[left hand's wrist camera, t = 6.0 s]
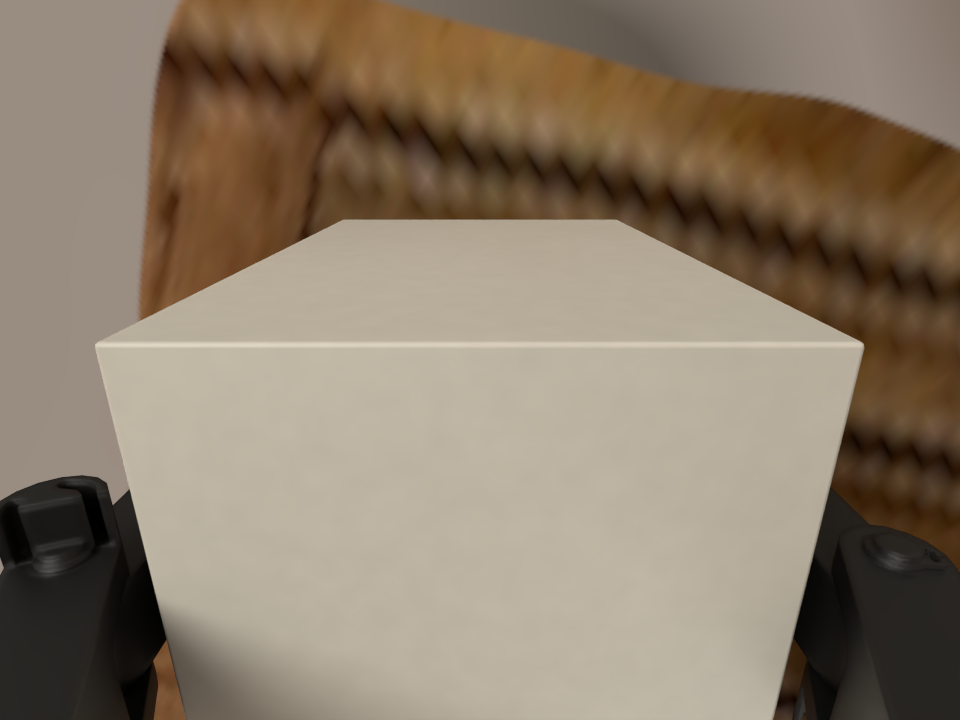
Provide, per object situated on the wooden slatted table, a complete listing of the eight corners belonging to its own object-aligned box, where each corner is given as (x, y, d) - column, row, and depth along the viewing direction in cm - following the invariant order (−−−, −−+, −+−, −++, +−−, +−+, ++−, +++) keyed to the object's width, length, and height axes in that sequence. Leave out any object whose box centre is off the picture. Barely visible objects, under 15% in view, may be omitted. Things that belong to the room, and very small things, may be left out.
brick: (617, 219, 16) (869, 342, 6) (596, 477, 18) (738, 871, 8) (341, 219, 16) (91, 342, 6) (363, 477, 18) (221, 870, 8)
